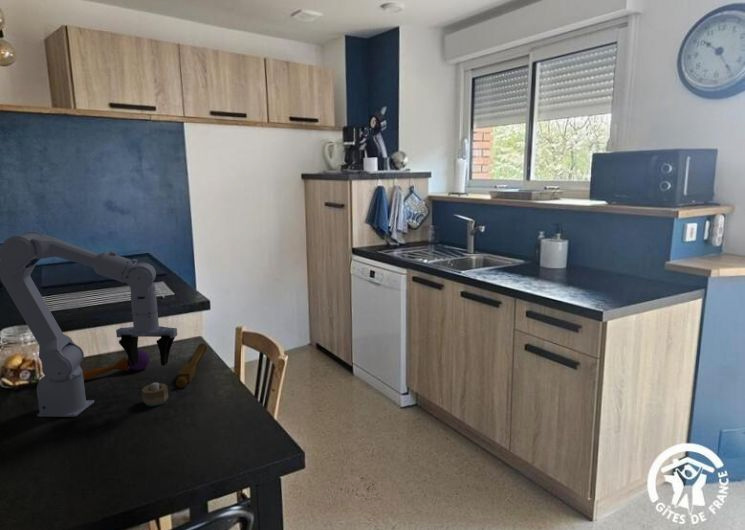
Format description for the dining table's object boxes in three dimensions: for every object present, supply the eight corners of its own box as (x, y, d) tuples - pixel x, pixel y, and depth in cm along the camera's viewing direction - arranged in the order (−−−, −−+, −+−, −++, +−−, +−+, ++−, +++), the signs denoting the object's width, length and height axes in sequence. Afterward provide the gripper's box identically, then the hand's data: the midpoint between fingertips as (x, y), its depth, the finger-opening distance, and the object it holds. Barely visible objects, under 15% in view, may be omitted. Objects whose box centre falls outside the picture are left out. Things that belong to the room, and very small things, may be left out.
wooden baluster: (207, 342, 162) (185, 378, 132) (208, 351, 162) (186, 389, 133) (197, 343, 161) (174, 379, 132) (198, 351, 162) (175, 390, 132)
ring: (139, 404, 122) (138, 392, 121) (149, 394, 127) (148, 383, 127) (161, 404, 122) (160, 392, 121) (171, 394, 127) (170, 383, 127)
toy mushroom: (141, 406, 122) (139, 388, 122) (151, 397, 127) (149, 380, 127) (161, 406, 122) (159, 388, 121) (170, 397, 127) (168, 380, 126)
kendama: (69, 367, 139) (144, 346, 150) (74, 387, 139) (148, 365, 151) (71, 369, 134) (148, 348, 145) (76, 390, 134) (153, 368, 146)
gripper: (107, 316, 118) (112, 369, 120) (166, 316, 117) (170, 370, 120) (123, 308, 125) (128, 359, 127) (179, 308, 124) (183, 359, 127)
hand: (149, 364), depth 124 cm, fingers open, 7 cm apart
